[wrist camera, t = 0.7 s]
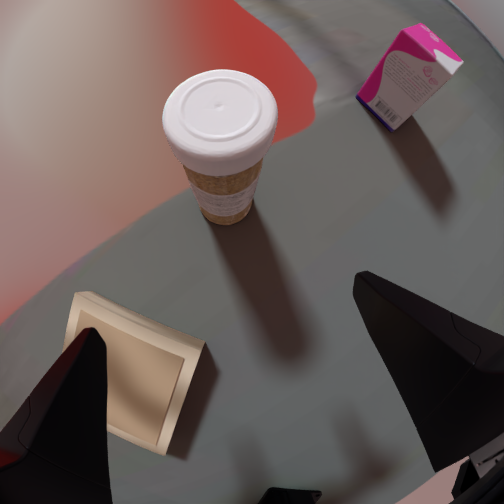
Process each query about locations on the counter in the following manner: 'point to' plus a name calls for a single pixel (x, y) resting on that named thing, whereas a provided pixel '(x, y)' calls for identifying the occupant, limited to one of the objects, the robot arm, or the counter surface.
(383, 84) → the supplement box
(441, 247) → the counter surface
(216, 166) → the sprinkles bottle
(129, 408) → the beech tray
